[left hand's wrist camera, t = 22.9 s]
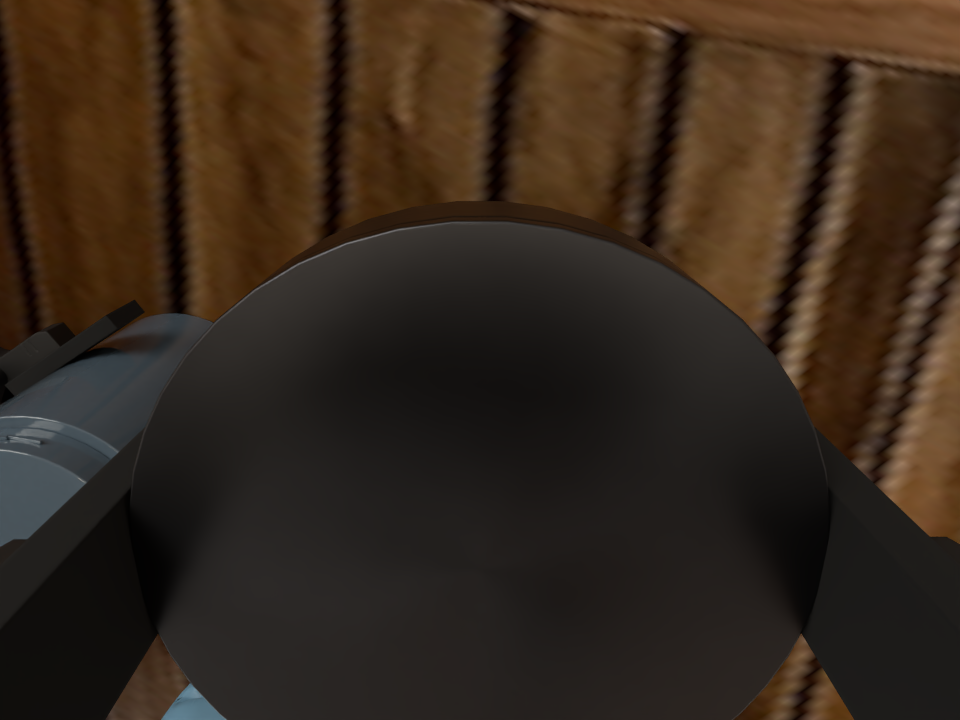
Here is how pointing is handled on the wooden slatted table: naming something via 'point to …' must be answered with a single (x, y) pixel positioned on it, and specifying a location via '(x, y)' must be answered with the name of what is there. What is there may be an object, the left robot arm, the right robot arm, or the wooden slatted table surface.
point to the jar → (84, 417)
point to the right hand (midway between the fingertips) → (199, 400)
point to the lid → (479, 484)
